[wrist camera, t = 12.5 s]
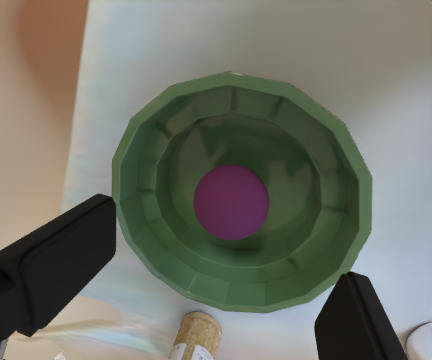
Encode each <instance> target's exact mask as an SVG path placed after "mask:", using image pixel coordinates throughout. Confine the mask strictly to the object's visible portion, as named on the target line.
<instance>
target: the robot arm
mask: <svg viewBox="0 0 432 360" xmlns="http://www.w3.org/2000/svg"><path fill="white" fill-rule="evenodd" d="M115 252H116V203H115V202H114V200H113V198H112V197H109V196H106V195H103V194H96V195H95V196H93V197H91V198H89V199H88V200H86V201H84V202H83V203H81V204H79V205H77V206H76V207H74V208H72V209H71V210H69V211H67V212H65V213H64V214H62V215H60V216H59V217H57V218H55V219H54V220H52V221H50V222H48V223H47V224H45V225H43V226H41V227H40V228H38V229H36V230H35V231H33V232H31V233H30V234H28V235H26V236H25V237H23V238H21V239H19V240H17V241H16V242H14V243H12V244H11V245H9V246H7V247H5V248H4V249H2V250H0V360H5V359H3V355H4V352H5V349H6V345H7V342H8V338H9V336H10V335H12V334H13V333H14V332H15V331H16V330H17V332H18V333H21V334H23V335H25V336H28V337H31V336H32V335H33V334H34V333H35V332H36V331H37V330H38V329H43V328H44V327H46V326H47V325H48V324H49V323H50V322H51V321H52V319H54V318H55V317H56V316H57V314H58V313H59V312H60V311H61V310H62V309H63V308H64V307H65V306H66V305H67V304H68V303H69V302H70V301H71V300H72V299H73V298H74V297H75V296H76V295H77V294H78V293H79V292H80V291H81V290H82V289H83V288H84V287H85V286H86V285H87V284H88V283H89V282H90V281H91V280H92V279H93V278H94V277H95V276H96V275H97V273H98V272H99V271H100V270H101V269H102V268H103V267H104V266H105V265H106V264H107V263H108V262H109V261H110V260H111V259H112V258H113V257H114V255H115ZM314 330H315V337H316V344H317V350H318V357H319V360H408V358H407V356H406V354H405V352H404V350H403V348H402V346H401V344H400V342H399V340H398V338H397V336H396V333H395V331H394V329H393V327H392V325H391V323H390V321H389V319H388V317H387V315H386V313H385V311H384V309H383V306H382V304H381V302H380V300H379V298H378V296H377V294H376V292H375V290H374V288H373V286H372V284H371V282H370V280H369V278H368V277H367V276H364V275H361V274H357V273H354V272H351V271H349V272H347V273H346V274H341V276H340V277H339V279H338V281H337V283H336V285H335V286H334V288H333V290H332V292H331V294H330V295H329V297H328V299H327V301H326V303H325V304H324V306H323V308H322V310H321V312H320V313H319V315H318V317H317V319H316V321H315V326H314Z"/></svg>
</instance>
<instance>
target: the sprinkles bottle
mask: <svg viewBox="0 0 432 360" xmlns="http://www.w3.org/2000/svg"><path fill="white" fill-rule="evenodd" d="M221 335H222V331H221V328H220V326H219V324H218V323H217V321H216V320H215V319H214V318H212V317H211V316H209V315H207V314H204V313H201V312H193V313H189V314H187V315H185V316H184V318H183V319H182V321H181V327H180V329H179V332H178V335H177V338H176V340H175V342H174V345H173V348H172V349H171V351H170V354H169V356H168V359H167V360H215V357H216V352H217V347H218V343H219V340H220V339H221Z"/></svg>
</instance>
